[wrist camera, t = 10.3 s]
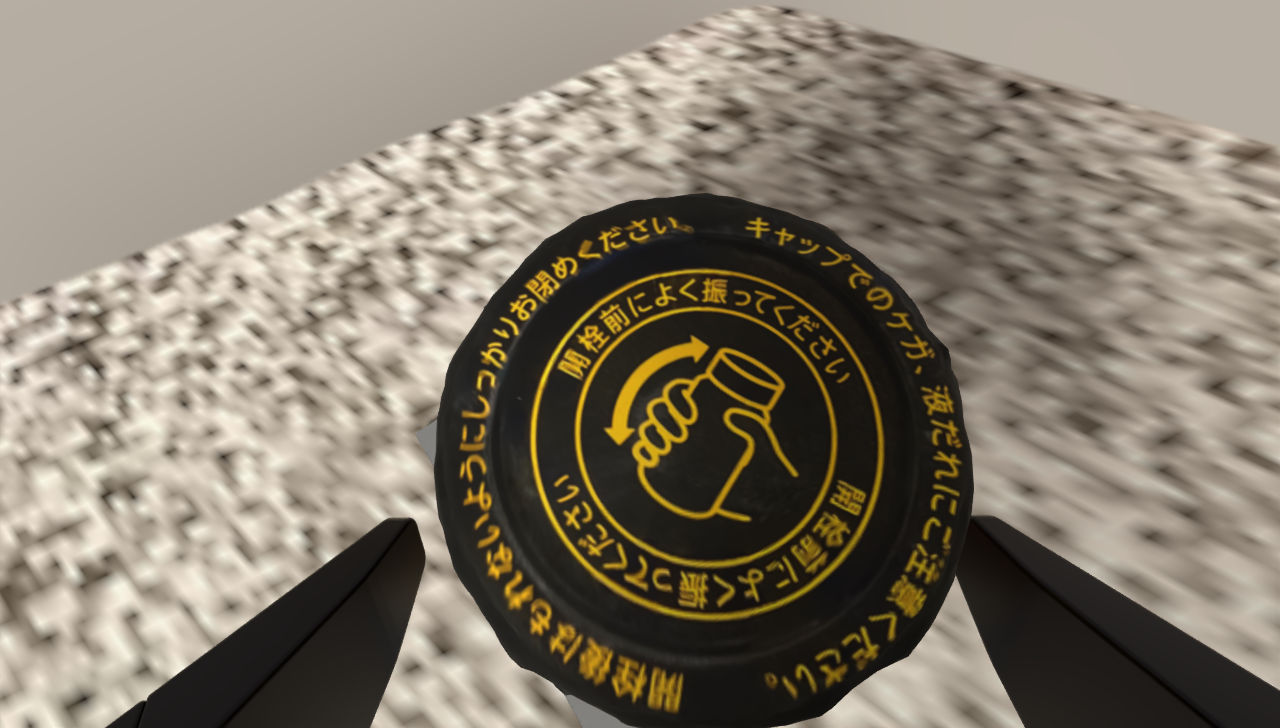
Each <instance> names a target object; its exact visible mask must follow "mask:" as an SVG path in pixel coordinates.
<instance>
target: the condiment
mask: <svg viewBox="0 0 1280 728" xmlns="http://www.w3.org/2000/svg"><path fill="white" fill-rule="evenodd" d="M434 478H435V489H436V500H437V508H438V515H439V520H440V522H441V525H442V527H443V530H444V534H445V539H446V544H447V547H448V550H449V553H450V556H451V560H452V564H453V567H454V569H455V571H456V573H457V575H458V577H459V578H460V580H461V582H462V583H463V585H464V586H465V588H466V589H467V590H468V592H469V593H470V594H471V596H472V597H473V598H474V600H475V602H476V603H477V605H478V607H479V609H480V610H481V612H482V613H483V615H484V616H485V618H486V619H487V621H488V622H489V624H490V625H491V627H492V628H493V630H494V631H495V633H496V635H497V637H498V639H499V641H500V643H501V645H502V646H503V648H504V649H505V651H506V652H507V654H508V655H509V657H510V658H511V659H512V660H513V661H514V662H516V663H517V664H518V665H519V666H520V667H521V668H524V669H527V670H530V671H533V672H535V673H537V674H538V675H540V676H542V677H543V678H545V679H547V680H549V681H550V682H552V683H553V684H554V685H555V687H556V688H558V689H559V690H560V691H561V692H562V693H563V694H565V695H572V696H574V697H576V698H578V699H580V700H582V701H584V702H586V703H587V704H590V705H592V706H594V707H596V708H598V709H600V710H602V711H603V712H605V713H607V714H609V715H611V716H613V717H615V718H616V719H618V720H619V721H620V722H621V723H624V724H626V725H627V726H632V727H637V728H771V727H778V726H785V725H790V724H793V723H797V722H800V721H804V720H808V719H812V718H816V717H820V716H822V715H823V714H825V713H826V712H827V711H829V710H830V709H832V708H833V707H834V706H835V705H836V704H837V703H838V702H839V701H840V700H841V699H842V698H843V697H844V696H846V695H847V694H848V693H849V692H850V691H851V690H852V689H853V688H855V687H856V686H857V685H859V684H860V683H862V682H863V681H864V680H866V679H867V678H869V677H870V676H871V675H873V674H874V673H876V672H877V671H879V670H881V669H883V668H885V667H887V666H889V665H891V664H893V663H895V662H898V661H900V660H902V659H904V658H906V657H908V656H909V655H910V654H911V652H912V651H913V650H914V649H915V647H916V646H917V645H918V643H919V642H920V641H921V639H922V638H923V637H924V635H925V634H926V632H927V631H928V630H929V628H930V627H931V625H932V623H933V622H934V620H935V618H936V616H937V614H938V612H939V610H940V608H941V606H942V604H943V602H944V600H945V598H946V596H947V594H948V592H949V590H950V588H951V586H952V584H953V581H954V578H955V574H956V570H957V566H958V562H959V557H960V554H961V551H962V548H963V545H964V542H965V538H966V534H967V530H968V526H969V522H970V518H971V513H972V503H973V493H974V481H973V466H972V453H971V449H970V444H969V440H968V437H967V433H966V430H965V426H964V420H963V409H962V400H961V395H960V391H959V386H958V381H957V378H956V377H955V375H954V373H953V371H952V369H951V359H950V354H949V350H948V348H947V347H946V346H945V345H943V344H942V343H941V342H940V341H939V339H938V338H937V337H936V336H935V335H934V334H933V333H932V332H931V331H930V330H929V329H928V327H927V325H926V323H925V320H924V318H923V317H922V315H921V313H920V311H919V310H918V308H917V306H916V305H915V303H914V302H913V301H912V300H911V298H910V297H909V296H908V295H907V293H906V292H905V291H904V290H903V289H902V288H901V287H900V286H899V284H898V283H897V282H896V281H895V280H894V279H893V278H892V277H890V276H889V275H887V274H886V273H884V272H883V271H881V270H880V269H879V268H878V267H877V266H875V265H874V264H873V263H872V262H871V261H870V260H869V259H868V258H867V257H865V256H864V255H863V254H862V253H860V252H859V251H858V250H856V249H854V248H852V247H850V246H849V245H848V244H846V243H845V242H844V241H842V239H841V238H840V237H839V236H838V235H837V234H836V233H835V232H834V231H833V230H831V229H829V228H827V227H826V226H824V225H822V224H819V223H816V222H813V221H809V220H806V219H803V218H800V217H798V216H795V215H793V214H790V213H788V212H785V211H781V210H777V209H774V208H770V207H766V206H762V205H758V204H754V203H751V202H748V201H745V200H742V199H739V198H734V197H728V196H717V195H713V194H709V193H703V194H690V195H682V196H675V197H669V198H653V199H647V200H634V201H629V202H626V203H622V204H619V205H616V206H613V207H611V208H608V209H606V210H603V211H600V212H597V213H594V214H592V215H588V216H583V217H581V218H580V219H578V220H577V221H575V222H574V223H572V224H571V225H569V226H567V227H566V228H564V229H563V230H561V231H560V232H558V233H556V234H554V235H552V236H550V237H549V238H547V239H545V240H544V241H543V242H542V243H541V244H540V245H539V246H538V247H537V249H536V250H535V251H534V252H533V253H532V254H530V255H529V256H528V257H527V258H526V259H525V260H524V262H523V263H522V264H521V265H520V267H519V268H518V269H517V270H516V271H515V272H514V274H513V275H512V276H511V277H510V278H509V279H508V280H507V281H506V282H505V284H504V285H503V286H502V287H501V288H500V289H499V290H498V291H497V292H496V293H495V294H494V295H493V296H492V297H491V299H490V301H489V302H488V304H487V305H486V306H485V307H484V310H483V312H482V313H481V315H480V316H479V318H478V320H477V321H476V323H475V324H474V326H473V327H472V329H471V330H470V332H469V333H468V335H467V336H466V337H465V339H464V340H463V342H462V343H461V345H460V346H459V348H458V350H457V351H456V353H455V354H454V356H453V358H452V360H451V362H450V364H449V367H448V370H447V374H446V379H445V387H444V390H443V393H442V396H441V402H440V408H439V412H438V416H437V427H436V454H435V461H434Z"/></svg>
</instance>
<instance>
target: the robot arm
mask: <svg viewBox="0 0 1280 728" xmlns="http://www.w3.org/2000/svg"><path fill="white" fill-rule="evenodd" d="M425 559H426V556H425V550H424V547H423V543H422V540H421V537H420V533H419V530H418V526H417V524H416V521H415V520H414V519H412V518H388V519H386V520H384V521H383V522H381V523H380V524H379V525H377V526H376V527H375V528H373V529H372V530H371V531H369V532H368V533H367V534H365V535H364V536H362V537H361V538H360V539H358V540H357V541H356V542H354V543H353V544H352V545H350V546H349V547H348V548H346V549H345V550H344V551H342V552H341V553H340V554H338V555H337V556H336V557H334V558H333V559H332V560H330V561H329V562H328V563H326V564H325V565H323V566H322V567H321V568H319V569H318V570H317V571H315V572H314V573H313V574H311V575H310V576H309V577H307V578H306V579H305V580H303V581H302V582H301V583H299V584H298V585H297V586H295V587H294V588H293V589H291V590H290V591H289V592H287V593H286V594H284V595H283V596H282V597H280V598H279V599H278V600H276V601H275V602H274V603H272V604H271V605H270V606H268V607H267V608H266V609H264V610H263V611H262V612H260V613H259V614H258V615H256V616H255V617H254V618H252V619H251V620H250V621H248V622H247V623H245V624H244V625H243V626H241V627H240V628H239V629H237V630H236V631H235V632H233V633H232V634H231V635H229V636H228V637H227V638H225V639H224V640H223V641H221V642H220V643H219V644H217V645H216V646H215V647H213V648H212V649H211V650H209V651H208V652H207V653H205V654H204V655H202V656H201V657H200V658H198V659H197V660H196V661H194V662H193V663H192V664H190V665H189V666H188V667H186V668H185V669H184V670H182V671H181V672H180V673H178V674H177V675H176V676H174V677H173V678H172V679H170V680H169V681H167V682H166V683H165V684H163V685H162V686H161V687H159V688H158V689H157V690H155V691H154V692H153V693H151V694H150V695H149V696H148V698H147V701H140V702H139V703H138V704H136V705H135V706H134V707H132V708H131V709H130V710H128V711H127V712H126V713H124V714H123V715H121V716H120V717H119V718H117V719H116V720H115V721H113V722H112V723H111V724H109V725H108V726H107V727H105V728H370V726H371V724H372V722H373V719H374V717H375V714H376V712H377V709H378V707H379V704H380V702H381V699H382V697H383V694H384V692H385V689H386V687H387V684H388V682H389V680H390V677H391V674H392V672H393V669H394V667H395V664H396V661H397V658H398V655H399V652H400V649H401V646H402V643H403V639H404V636H405V632H406V629H407V626H408V622H409V619H410V615H411V612H412V608H413V605H414V602H415V598H416V595H417V591H418V588H419V584H420V581H421V578H422V574H423V571H424V567H425ZM956 577H957V579H958V582H959V584H960V587H961V589H962V592H963V594H964V597H965V599H966V602H967V604H968V606H969V609H970V611H971V614H972V616H973V619H974V621H975V624H976V626H977V629H978V631H979V634H980V636H981V639H982V641H983V644H984V646H985V648H986V651H987V653H988V655H989V658H990V660H991V662H992V664H993V666H994V668H995V670H996V672H997V674H998V676H999V678H1000V680H1001V682H1002V684H1003V686H1004V688H1005V690H1006V692H1007V694H1008V696H1009V698H1010V700H1011V701H1012V703H1013V705H1014V707H1015V709H1016V711H1017V713H1018V715H1019V717H1020V719H1021V721H1022V723H1023V725H1024V727H1025V728H1280V690H1278V689H1277V688H1275V687H1273V686H1272V685H1270V684H1268V683H1267V682H1265V681H1263V680H1262V679H1260V678H1259V677H1257V676H1255V675H1254V674H1252V673H1250V672H1249V671H1247V670H1245V669H1244V668H1242V667H1241V666H1239V665H1237V664H1236V663H1234V662H1232V661H1231V660H1229V659H1228V658H1226V657H1224V656H1223V655H1221V654H1219V653H1218V652H1216V651H1214V650H1213V649H1211V648H1210V647H1208V646H1206V645H1205V644H1203V643H1201V642H1200V641H1198V640H1196V639H1195V638H1193V637H1192V636H1190V635H1188V634H1187V633H1185V632H1183V631H1182V630H1180V629H1178V628H1177V627H1175V626H1174V625H1172V624H1170V623H1169V622H1167V621H1165V620H1164V619H1162V618H1160V617H1159V616H1157V615H1156V614H1154V613H1152V612H1151V611H1149V610H1147V609H1146V608H1144V607H1142V606H1141V605H1139V604H1138V603H1136V602H1134V601H1133V600H1131V599H1129V598H1128V597H1126V596H1124V595H1123V594H1121V593H1120V592H1118V591H1116V590H1115V589H1113V588H1111V587H1110V586H1108V585H1106V584H1105V583H1103V582H1102V581H1100V580H1098V579H1097V578H1095V577H1093V576H1092V575H1090V574H1089V573H1087V572H1085V571H1084V570H1082V569H1080V568H1079V567H1077V566H1075V565H1074V564H1072V563H1071V562H1069V561H1067V560H1066V559H1064V558H1062V557H1061V556H1059V555H1057V554H1056V553H1054V552H1053V551H1051V550H1049V549H1048V548H1046V547H1044V546H1043V545H1041V544H1039V543H1038V542H1036V541H1035V540H1033V539H1031V538H1030V537H1028V536H1026V535H1025V534H1023V533H1021V532H1020V531H1018V530H1017V529H1015V528H1013V527H1012V526H1010V525H1008V524H1007V523H1005V522H1003V521H1002V520H1000V519H998V518H997V517H994V516H990V515H971V518H970V522H969V526H968V530H967V534H966V538H965V542H964V545H963V548H962V551H961V554H960V557H959V562H958V566H957V570H956Z"/></svg>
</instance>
